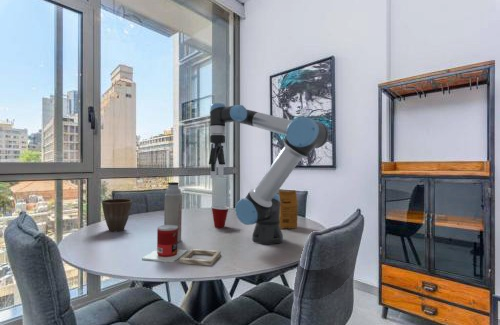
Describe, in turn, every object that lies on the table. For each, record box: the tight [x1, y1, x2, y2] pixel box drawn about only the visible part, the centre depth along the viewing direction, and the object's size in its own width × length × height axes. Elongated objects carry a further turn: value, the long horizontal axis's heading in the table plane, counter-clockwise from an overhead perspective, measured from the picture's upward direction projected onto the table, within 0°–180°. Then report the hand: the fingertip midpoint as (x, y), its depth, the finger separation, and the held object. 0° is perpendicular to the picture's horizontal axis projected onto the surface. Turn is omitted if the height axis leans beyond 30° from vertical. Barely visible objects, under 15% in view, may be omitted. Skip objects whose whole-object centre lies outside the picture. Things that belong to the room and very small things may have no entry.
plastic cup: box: [210, 205, 230, 229], centre depth 165 cm, size 11×11×12 cm
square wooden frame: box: [178, 248, 222, 267], centre depth 111 cm, size 12×12×2 cm
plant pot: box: [101, 198, 133, 232], centre depth 154 cm, size 15×15×16 cm
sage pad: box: [141, 249, 188, 263], centre depth 114 cm, size 13×13×1 cm
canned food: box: [156, 224, 179, 257], centre depth 113 cm, size 8×8×11 cm
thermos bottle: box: [163, 181, 183, 243], centre depth 135 cm, size 8×8×28 cm
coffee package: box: [278, 189, 299, 230], centre depth 167 cm, size 10×12×22 cm
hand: (217, 177), depth 140 cm, fingers open, 13 cm apart
